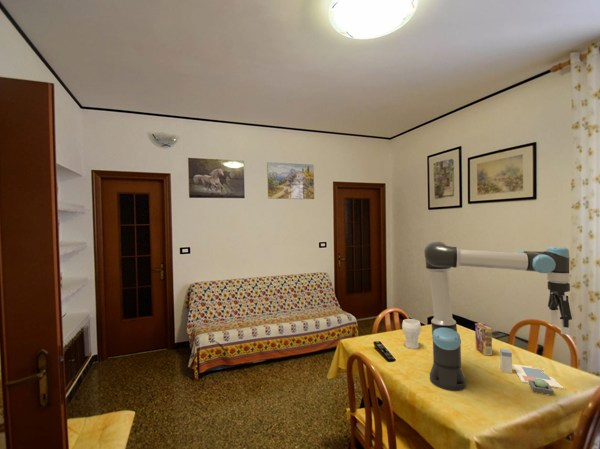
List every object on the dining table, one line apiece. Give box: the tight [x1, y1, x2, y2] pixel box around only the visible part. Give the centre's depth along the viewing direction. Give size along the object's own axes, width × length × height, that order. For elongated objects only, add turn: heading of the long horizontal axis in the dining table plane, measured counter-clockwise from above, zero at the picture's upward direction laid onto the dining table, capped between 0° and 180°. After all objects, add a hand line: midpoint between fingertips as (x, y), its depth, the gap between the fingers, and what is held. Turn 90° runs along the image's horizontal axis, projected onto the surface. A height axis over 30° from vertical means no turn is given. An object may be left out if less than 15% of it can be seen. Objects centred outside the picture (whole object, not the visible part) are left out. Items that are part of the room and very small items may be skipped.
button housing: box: [528, 380, 555, 396], centre depth 129 cm, size 7×7×2 cm
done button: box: [535, 379, 547, 389], centre depth 129 cm, size 4×4×3 cm
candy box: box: [474, 322, 493, 356], centre depth 167 cm, size 9×4×15 cm, turn 2°
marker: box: [499, 348, 513, 374], centre depth 146 cm, size 4×4×10 cm
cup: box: [401, 318, 422, 350], centre depth 177 cm, size 11×11×15 cm
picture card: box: [512, 363, 563, 389], centre depth 140 cm, size 16×18×1 cm
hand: (559, 329), depth 131 cm, fingers open, 13 cm apart
